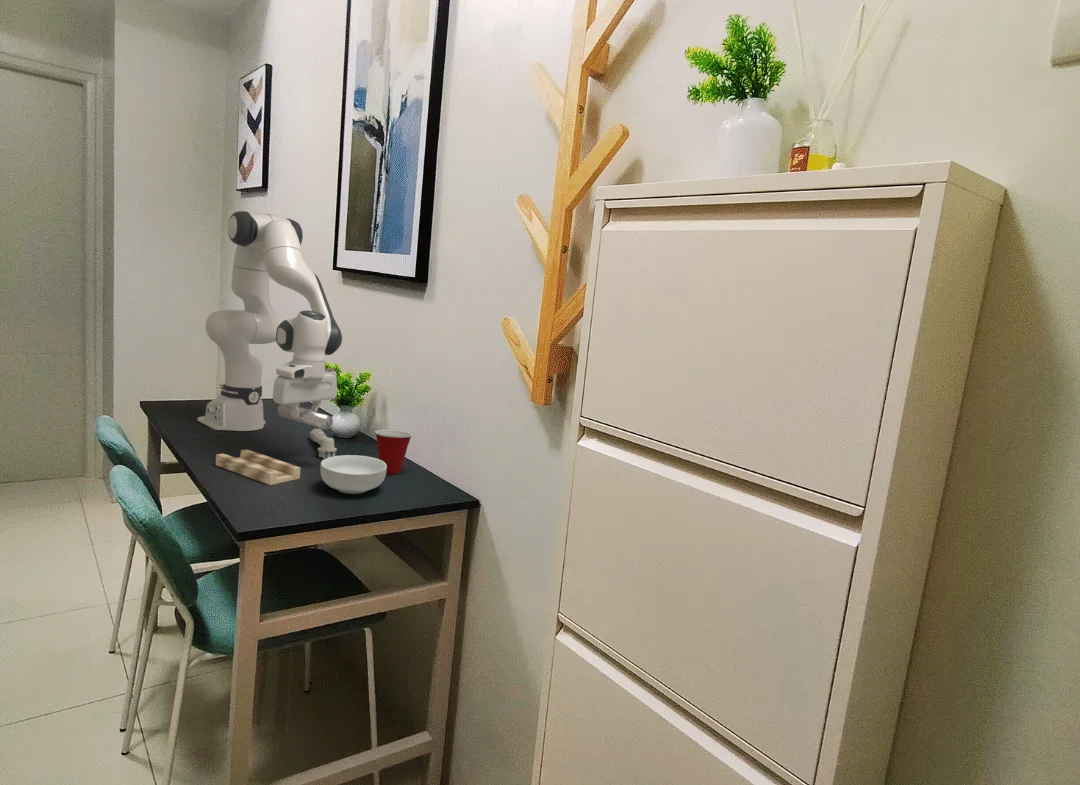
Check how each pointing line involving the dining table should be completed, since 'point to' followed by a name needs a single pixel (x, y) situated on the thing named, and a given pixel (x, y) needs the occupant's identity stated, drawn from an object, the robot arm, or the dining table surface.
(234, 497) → the dining table surface
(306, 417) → the axle
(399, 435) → the plastic cup
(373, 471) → the cereal bowl
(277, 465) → the v block
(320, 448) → the toothbrush head
